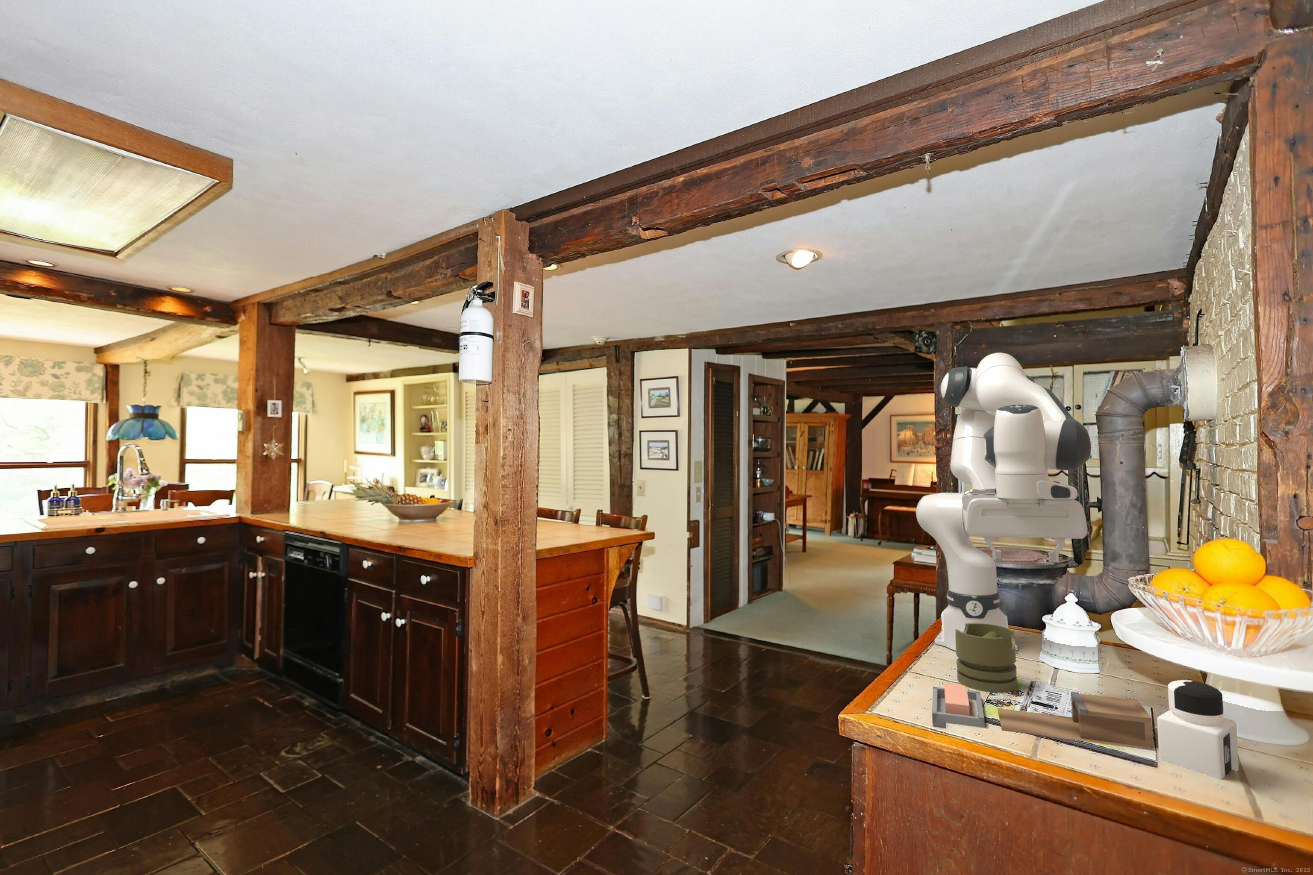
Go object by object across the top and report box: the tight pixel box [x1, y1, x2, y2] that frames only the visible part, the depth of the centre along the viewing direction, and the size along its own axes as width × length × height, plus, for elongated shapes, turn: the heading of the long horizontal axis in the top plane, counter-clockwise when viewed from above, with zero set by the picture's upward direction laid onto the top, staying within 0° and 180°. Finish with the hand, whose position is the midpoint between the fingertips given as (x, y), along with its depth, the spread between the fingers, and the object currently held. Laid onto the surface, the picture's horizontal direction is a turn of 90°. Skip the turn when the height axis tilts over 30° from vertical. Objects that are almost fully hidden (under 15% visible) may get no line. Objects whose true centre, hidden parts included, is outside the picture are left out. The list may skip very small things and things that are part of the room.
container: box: [1156, 679, 1240, 780], centre depth 99 cm, size 8×8×13 cm
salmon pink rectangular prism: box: [943, 683, 971, 716], centre depth 121 cm, size 4×10×3 cm, turn 157°
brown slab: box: [996, 691, 1156, 751], centre depth 112 cm, size 10×22×6 cm, turn 66°
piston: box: [955, 623, 1018, 694], centre depth 134 cm, size 11×12×11 cm
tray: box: [931, 686, 986, 729], centre depth 121 cm, size 14×9×2 cm, turn 156°
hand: (1024, 560), depth 121 cm, fingers open, 8 cm apart
